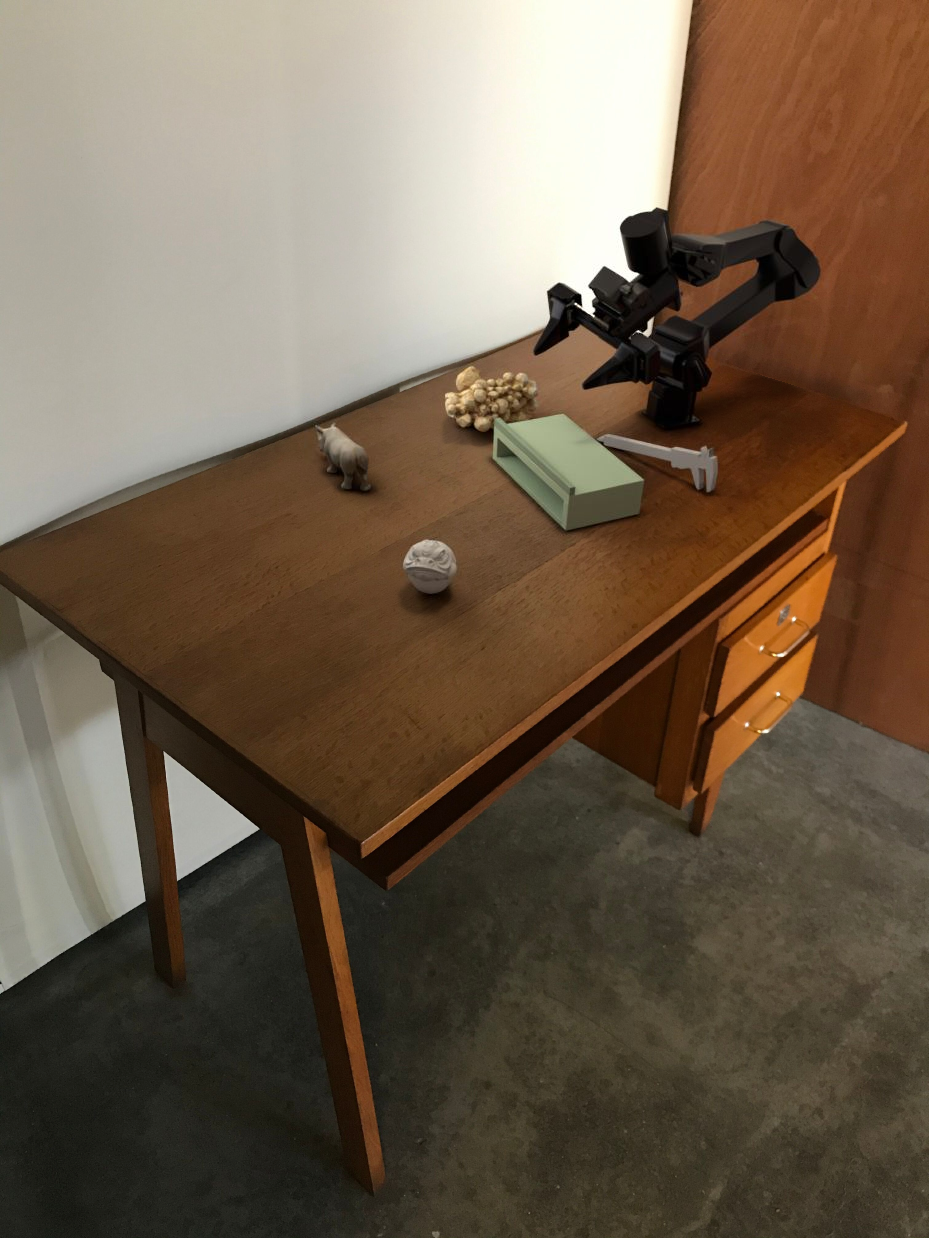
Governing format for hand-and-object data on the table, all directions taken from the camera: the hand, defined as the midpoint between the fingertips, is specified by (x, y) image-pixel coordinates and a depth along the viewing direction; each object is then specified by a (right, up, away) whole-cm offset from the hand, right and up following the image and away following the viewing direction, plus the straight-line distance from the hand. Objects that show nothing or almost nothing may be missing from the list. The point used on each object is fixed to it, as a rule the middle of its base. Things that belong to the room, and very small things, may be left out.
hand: (558, 369), depth 133 cm
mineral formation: (-10, -4, +17) cm, 20 cm away
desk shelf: (+1, -15, +3) cm, 15 cm away
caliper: (+14, -12, +8) cm, 20 cm away
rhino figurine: (-29, -13, +5) cm, 32 cm away
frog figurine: (-16, -30, -18) cm, 39 cm away
